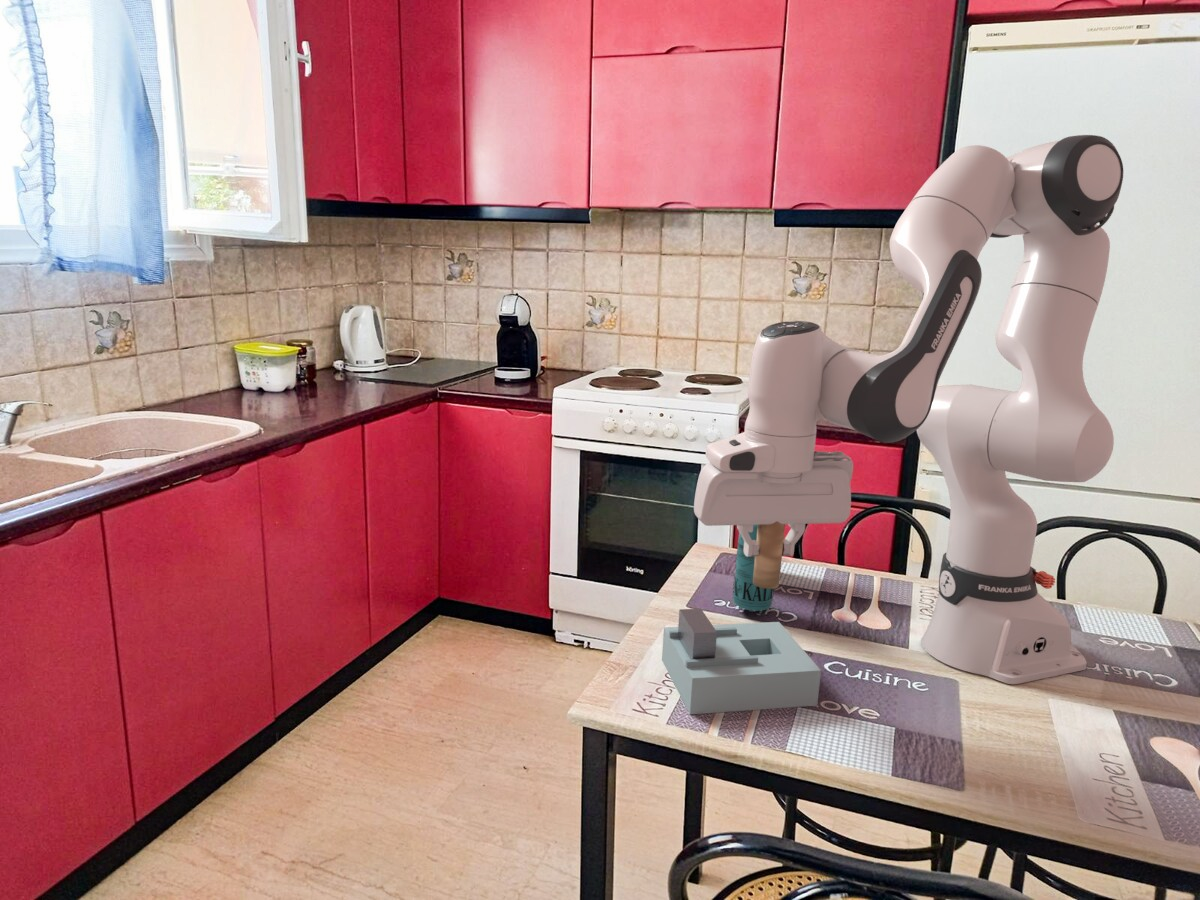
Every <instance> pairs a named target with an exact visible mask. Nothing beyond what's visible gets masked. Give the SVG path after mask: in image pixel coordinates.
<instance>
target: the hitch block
mask: <svg viewBox="0 0 1200 900" xmlns="http://www.w3.org/2000/svg"><path fill="white" fill-rule="evenodd" d="M712 625H713V627H714V628H715V630H716V631H717V639H716V652H715V658H710V659H692V660H691V659H690V657H689V655H688V654H687V652H686V650H685V648H684V647H683V645H682V643H681V642H680V640H679V638H678V626H667V627H663V637H662V653H661V661H662V664H663V665H664V667H665V669H666V671H667V674H668V675H669V677H670V678H671V681H672V683H673V684H674V687H675V688H676V690H677V692H678V694H679V696H680V698H681V700H682V702H683V703H684V706H685V707H686V709H687V712H688V715H699V714H700V715H701V714H713V713H714V714H715V713H716V714H717V713H730V712H744V711H759V710H771V709H788V708H802V707H804V708H805V707H815V706H818V701H819V692H820V682H821V673H822V670H821V668H820V667H819V666H818V665H817V664H816V663H815V662H814V660H813V659H812V658H811V657H810V656H809V655H808V653H806V651H805V650H804V649H803V648H802V647H801V646H800V645H799V643H798V642H797V641H796V639H795V638H794V637H793V636H792V635H791V634H790V632H788V631H787V629H786V627H784V626H783V624H782V623H780V621H771V622H770V621H769V622H768V621H767V622H747V623H729V624H725V623H724V624H712Z"/></svg>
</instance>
